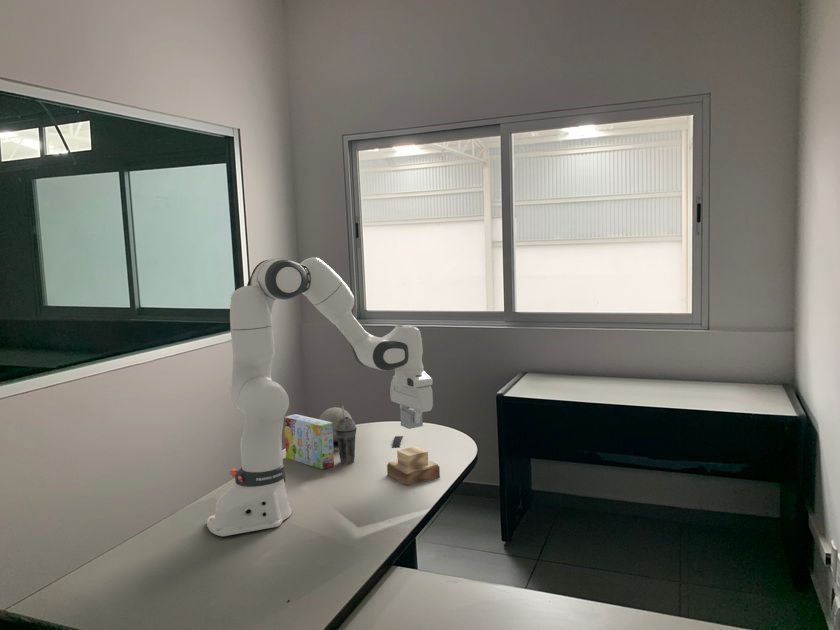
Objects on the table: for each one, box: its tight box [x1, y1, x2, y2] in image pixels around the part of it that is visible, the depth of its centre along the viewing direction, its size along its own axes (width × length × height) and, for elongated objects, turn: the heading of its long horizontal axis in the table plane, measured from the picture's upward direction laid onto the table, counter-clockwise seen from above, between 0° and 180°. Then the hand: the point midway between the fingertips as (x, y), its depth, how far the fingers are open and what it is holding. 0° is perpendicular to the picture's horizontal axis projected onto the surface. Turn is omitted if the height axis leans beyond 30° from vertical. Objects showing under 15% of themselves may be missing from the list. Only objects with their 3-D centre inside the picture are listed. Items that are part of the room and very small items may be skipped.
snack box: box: [284, 413, 335, 470], centre depth 214 cm, size 21×6×15 cm, turn 47°
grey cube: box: [399, 407, 424, 430], centre depth 195 cm, size 5×5×5 cm
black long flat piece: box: [391, 435, 403, 449], centre depth 230 cm, size 9×25×3 cm, turn 175°
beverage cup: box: [335, 404, 358, 466], centre depth 211 cm, size 7×7×20 cm
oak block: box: [396, 446, 429, 469], centre depth 196 cm, size 7×7×4 cm
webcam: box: [318, 406, 354, 453], centre depth 229 cm, size 13×13×15 cm
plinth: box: [386, 459, 441, 486], centre depth 196 cm, size 12×12×4 cm
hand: (411, 420), depth 195 cm, fingers closed on grey cube, 5 cm apart
